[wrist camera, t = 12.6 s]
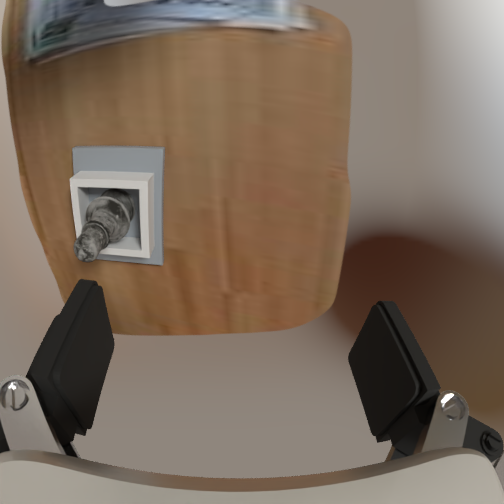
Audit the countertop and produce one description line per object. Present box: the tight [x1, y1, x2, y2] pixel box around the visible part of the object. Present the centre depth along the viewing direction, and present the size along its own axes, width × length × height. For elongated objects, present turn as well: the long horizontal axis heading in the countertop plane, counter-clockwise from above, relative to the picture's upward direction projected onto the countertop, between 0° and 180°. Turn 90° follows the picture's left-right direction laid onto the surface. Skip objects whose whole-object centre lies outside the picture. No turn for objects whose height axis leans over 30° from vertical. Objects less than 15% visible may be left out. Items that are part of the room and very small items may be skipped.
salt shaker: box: [74, 188, 136, 262], centre depth 31 cm, size 6×6×12 cm
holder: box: [70, 146, 165, 265], centre depth 35 cm, size 16×12×4 cm
